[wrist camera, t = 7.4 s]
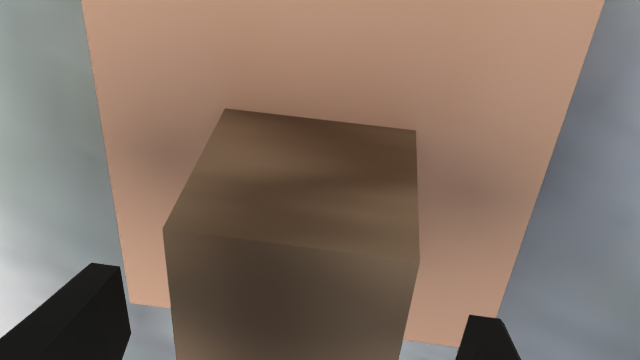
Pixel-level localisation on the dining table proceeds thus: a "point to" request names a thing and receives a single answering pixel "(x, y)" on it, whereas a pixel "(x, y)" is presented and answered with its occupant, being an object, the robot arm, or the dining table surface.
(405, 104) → the tile
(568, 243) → the dining table surface
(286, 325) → the cube
